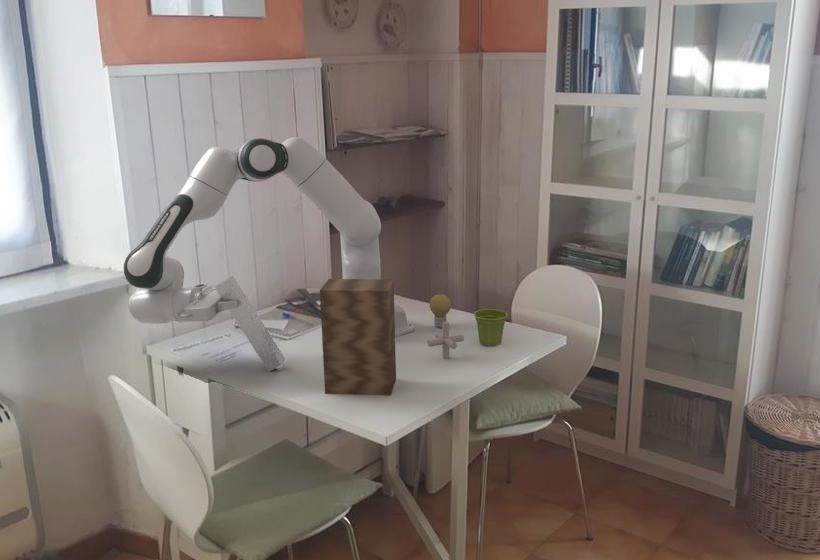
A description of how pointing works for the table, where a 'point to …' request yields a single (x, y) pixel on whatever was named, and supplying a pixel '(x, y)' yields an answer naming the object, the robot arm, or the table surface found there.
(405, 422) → the table surface
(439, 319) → the light bulb
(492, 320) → the plant pot
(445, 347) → the pipe connector
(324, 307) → the walnut stand
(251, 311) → the aluminium bar
